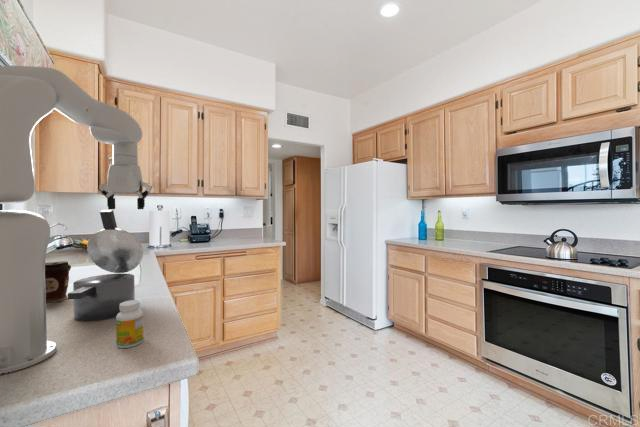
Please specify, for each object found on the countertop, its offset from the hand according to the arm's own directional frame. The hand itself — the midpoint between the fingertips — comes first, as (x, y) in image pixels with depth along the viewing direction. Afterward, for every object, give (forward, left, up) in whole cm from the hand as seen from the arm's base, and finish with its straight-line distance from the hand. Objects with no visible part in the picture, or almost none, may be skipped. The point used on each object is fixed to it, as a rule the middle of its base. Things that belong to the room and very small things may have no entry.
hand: (126, 209), depth 105 cm
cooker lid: (-13, -2, -11) cm, 17 cm away
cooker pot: (-19, -2, -31) cm, 37 cm away
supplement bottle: (-40, -20, -32) cm, 55 cm away
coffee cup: (-3, +22, -32) cm, 39 cm away
